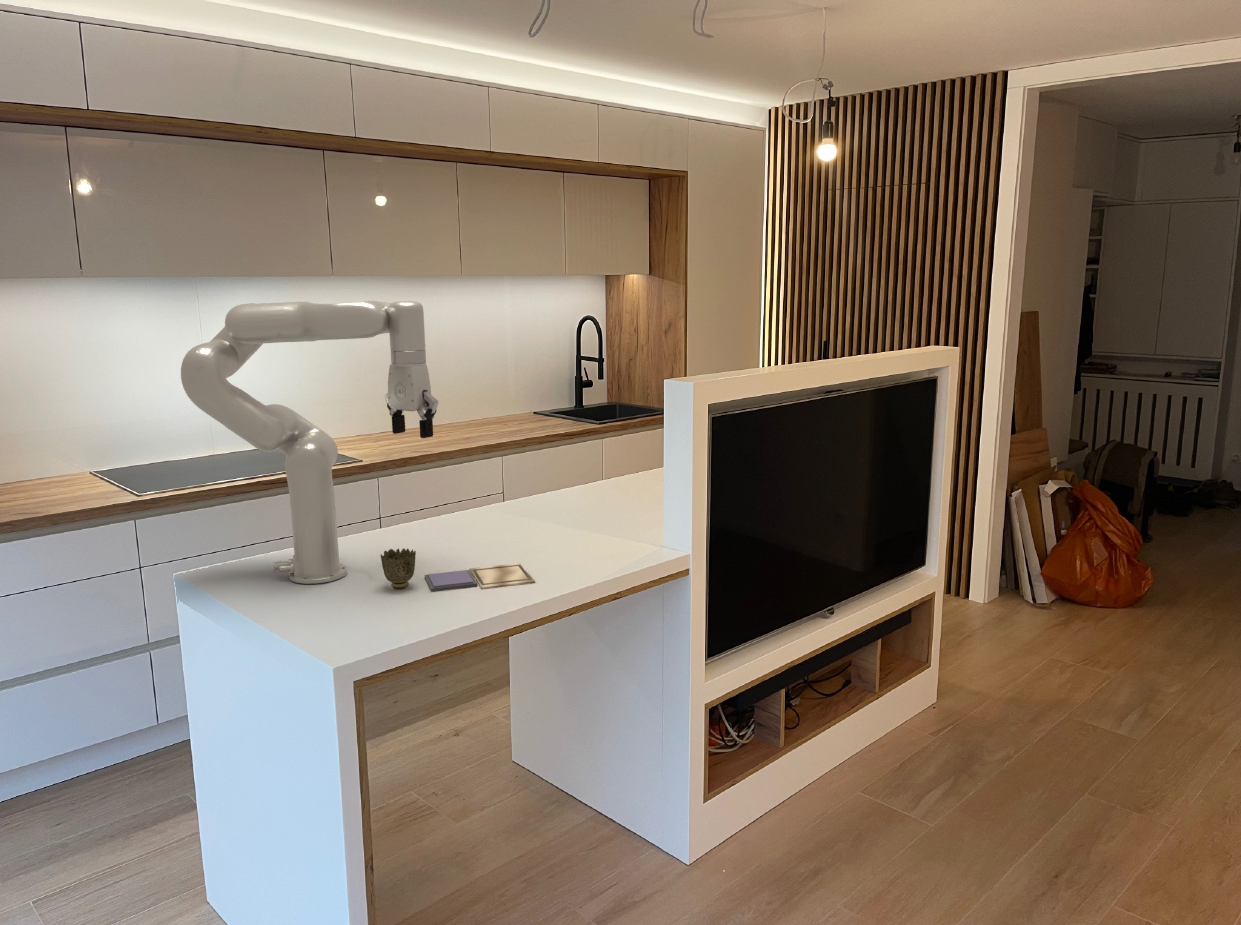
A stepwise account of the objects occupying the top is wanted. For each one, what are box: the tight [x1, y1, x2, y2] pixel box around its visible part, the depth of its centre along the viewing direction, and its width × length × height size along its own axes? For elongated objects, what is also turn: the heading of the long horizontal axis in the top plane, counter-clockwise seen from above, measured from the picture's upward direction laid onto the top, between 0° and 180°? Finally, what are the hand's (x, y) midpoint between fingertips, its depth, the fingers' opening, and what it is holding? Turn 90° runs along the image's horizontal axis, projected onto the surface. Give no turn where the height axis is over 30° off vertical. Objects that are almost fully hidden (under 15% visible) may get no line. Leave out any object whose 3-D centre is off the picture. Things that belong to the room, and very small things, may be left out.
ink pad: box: [424, 569, 478, 593], centre depth 206 cm, size 10×10×1 cm
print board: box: [468, 562, 536, 590], centre depth 210 cm, size 12×14×1 cm
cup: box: [380, 548, 417, 591], centre depth 202 cm, size 8×7×8 cm
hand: (412, 435), depth 208 cm, fingers open, 9 cm apart
